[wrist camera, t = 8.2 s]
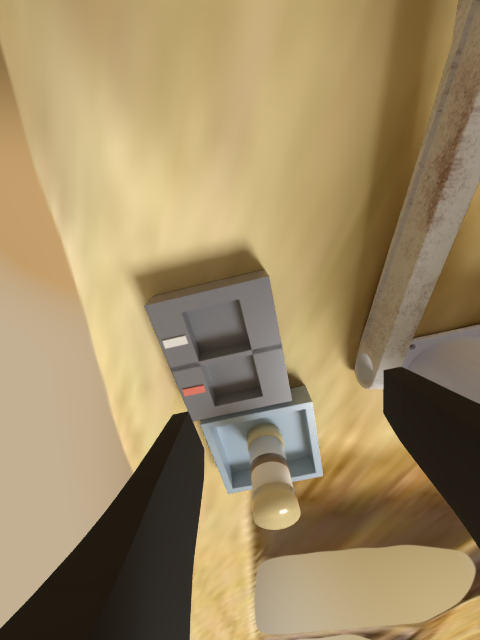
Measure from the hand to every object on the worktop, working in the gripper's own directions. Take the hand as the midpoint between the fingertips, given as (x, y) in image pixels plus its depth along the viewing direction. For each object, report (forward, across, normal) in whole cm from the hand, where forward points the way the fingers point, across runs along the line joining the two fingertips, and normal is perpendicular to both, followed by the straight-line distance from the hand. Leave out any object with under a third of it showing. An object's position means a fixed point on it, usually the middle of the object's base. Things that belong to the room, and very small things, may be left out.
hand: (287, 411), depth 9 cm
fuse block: (+10, +3, +2) cm, 11 cm away
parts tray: (+10, +2, +12) cm, 16 cm away
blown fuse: (+10, +2, +12) cm, 15 cm away
